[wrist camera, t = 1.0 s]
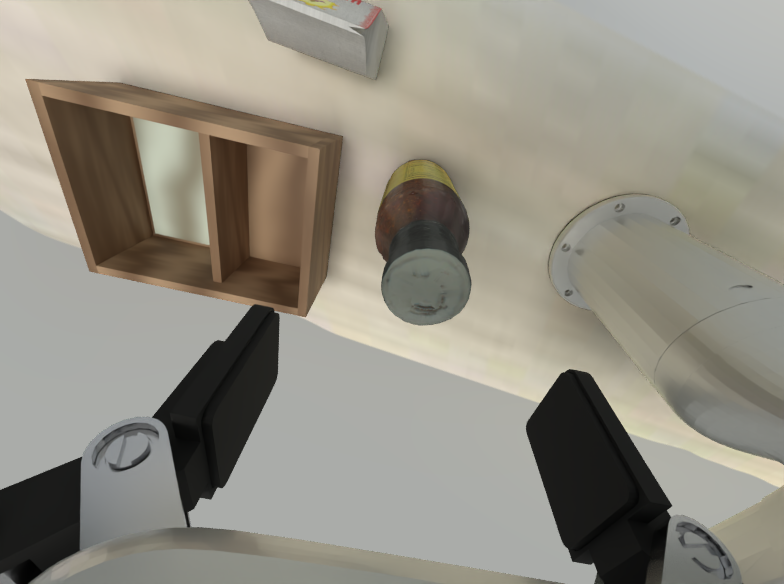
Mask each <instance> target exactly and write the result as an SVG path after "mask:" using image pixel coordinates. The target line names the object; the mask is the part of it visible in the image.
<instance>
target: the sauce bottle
mask: <svg viewBox="0 0 784 584" xmlns="http://www.w3.org/2000/svg"><path fill="white" fill-rule="evenodd" d="M375 238H376V245H377V249H378V251H379V253H380V254H382V256H383V259H384V260H385V261H386V262H387V263H386V265H385V267H384V272H383V275H382V282H381V290H382V295H383V298H384V301H385V303H386V304H387V306H388V308H389V310H390V311H391V312H392V313H393V314H394V315H395V316H397V317H399V318H400V319H402V320H403V321H405V322H408V323H411V324H415V325H433V324H438V323H441V322H444V321H446V320H449V319H451V318H452V317H454V316H455V315H457V314H458V313H460V311H461V310H462V309H463V308H464V307H465V305H466V303H467V301H468V299H469V295H470V291H471V278H470V274H469V269H468V266H467V263H466V260H465V259H464V257H463V256H462V255H461V254H462V253H463V251H464V249H465V247H466V245H467V242H468V238H469V219H468V215H467V211H466V209H465V207H464V205H463V203H462V201H461V199H460V197H459V196H458V194H457V192H456V190H455V188H454V186H453V184H452V182H451V180H450V178H449V176H448V175H447V173H446V172H445V171H444V170H443V169H442V168H441V167H440V166H438V165H437V164H435V163H433V162H431V161H428V160H412V161H409V162H408V163H406V164H404V165H402V166H400V167H399V168H398V169H397V170H396V171H395V172H394V173H393V174H392V176H391V178H390V180H389V181H388V184H387V186H386V189H385V192H384V195H383V198H382V201H381V204H380V207H379V211H378V215H377V222H376V227H375Z"/></svg>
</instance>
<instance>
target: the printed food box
mask: <svg viewBox="0 0 784 584" xmlns="http://www.w3.org/2000/svg"><path fill="white" fill-rule="evenodd" d="M249 2H250V4H251V6H252V8H253V9H254V11H255V13H256V16H257V18H258V20H259V22H260V24H261V26H262V28H263V30H264V33H265V35H266V37H267V39H268V40H269V41H272V42H274V43H277V44H280V45H282V46H285V47H288V48H291V49H293V50H296V51H299V52H301V53H304V54H307V55H309V56H312V57H315V58H317V59H320V60H323V61H325V62H328V63H331V64H333V65H336V66H339V67H342V68H344V69H347V70H350V71H352V72H355V73H358V74H360V75H363V76H366V77H369V78H371V79H374V80H376V78H377V74H378V70H379V66H380V61H381V57H382V53H383V49H384V45H385V41H386V36H387V32H388V28H389V25H388V22H387V20H386V18H385V15H384V13H383V11H382V9H381V8H379V7H376V6H374V5H371V4H369V3H366V2H364V1H361V0H249Z"/></svg>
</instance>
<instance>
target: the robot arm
mask: <svg viewBox="0 0 784 584" xmlns="http://www.w3.org/2000/svg"><path fill="white" fill-rule="evenodd" d="M616 205H617V206H616ZM615 206H616V207H615ZM564 244H565V245H564ZM563 245H564V246H563ZM549 276H550V279H551V281H552V284H553V286H554V287H555V289H556V290H557V292H558V293H559V294H560V296H561V297H562V298H563V299H565V300H566V301H567V302H569V303H570V304H572V305H574V306H577V307H579V308H583V309H587V310H592V311H593V312H594V313H595V314H596V316H597V317H598V318H599V319H600V321H601V322H602V323H603V324H604V326H605V327H606V328H607V329H608V331H609V332H610V333H611V335H612V336H613V337H614V338H615V340H616V341H617V342H618V343H619V345H620V346H621V347H622V348H623V350H624V351H625V352H626V353H627V355H628V356H629V357H630V358H631V360H632V361H633V362H634V363H635V365H636V366H637V367H638V368H639V370H640V371H641V372H642V373H643V375H644V376H645V377H646V378H647V380H648V381H649V382H650V383H651V385H652V386H653V387H654V388H655V389H656V390H657V392H658V393H659V394H660V395H661V397H662V398H663V399H664V400H665V402H666V403H667V404H668V405H669V407H670V408H671V409H672V410H673V411H674V412H675V413H676V414H677V415H678V416H679V417H680V419H682V420H683V421H684V422H685V423H686V424H687V425H689V426H690V427H691V428H693V429H694V430H696V431H697V432H699V433H700V434H702V435H703V436H705V437H707V438H709V439H711V440H713V441H715V442H717V443H720V444H722V445H725V446H727V447H730V448H733V449H736V450H739V451H742V452H745V453H749V454H752V455H756V456H759V457H763V458H767V459H770V460H774V461H778V462H780V463H782V464H783V465H784V284H782V283H780V282H778V281H776V280H774V279H772V278H770V277H768V276H767V275H765V274H763V273H761V272H759V271H757V270H755V269H753V268H751V267H749V266H747V265H745V264H743V263H742V262H740V261H738V260H736V259H734V258H732V257H730V256H728V255H726V254H724V253H722V252H720V251H719V250H717V249H715V248H713V247H711V246H709V245H707V244H705V243H703V242H701V241H699V240H697V239H696V238H694V237H692V236H690V233H689V226H688V223H687V221H686V218H685V216H684V215H683V214H682V213H681V212H680V210H679V209H678V208H676V207H675V206H674V205H672V204H671V203H669V202H667V201H665V200H662V199H660V198H658V197H654V196H650V195H644V194H629V195H622V196H617V197H614V198H610V199H607V200H604V201H602V202H600V203H598V204H596V205H594V206H591V207H590V208H588V209H587V210H585V211H584V212H582V213H581V214H579V215H578V216H577V217H576V218H575V219H574V220H572V221H571V222H570V223H569V224H568V225H567V226H566V228H565V229H564V230H563V231H562V233H561V234H560V235H559V237H558V239H557V240H556V242H555V244H554V246H553V249H552V252H551V254H550V259H549ZM278 347H279V314H278V313H274V308H272V307H268V306H263V305H258V304H254V305H253V306H252V307H251V308H250V310H249V311H248V312H247V313H246V315H245V316H244V317H243V318H242V320H241V321H240V322H239V324H238V325H237V326H236V328H235V329H234V330H233V331H232V333H231V334H230V336H229V337H228V338H227V339H226V341H219V340H217V341H215V342H214V343H213V344H212V345H211V346H210V347H209V348H208V349H207V351H206V352H205V353H204V354H203V355H202V357H201V358H200V359H199V360H198V362H197V363H196V364H195V365H194V366H193V368H192V369H191V370H190V372H189V373H188V374H187V375H186V376H185V378H184V379H183V380H182V381H181V382H180V384H179V385H178V386H177V387H176V389H175V390H174V391H173V392H172V394H171V395H170V396H169V397H168V398H167V400H166V401H165V402H164V403H163V405H162V406H161V407H160V408H159V409H158V411H157V412H156V413H155V414H154V416H153V417H152V418H150V417H135V418H130V419H126V420H123V421H121V422H118V423H116V424H113V425H111V426H110V427H108V428H107V429H105V430H104V431H102V432H101V433H99V434H98V435H97V436H96V437H95V438H94V439H93V440H92V441H91V442H90V443H89V445H88V446H87V448H86V450H85V451H84V453H83V457H80V458H78V459H75V460H73V461H70V462H68V463H65V464H63V465H60V466H58V467H56V468H53V469H51V470H48V471H46V472H43V473H41V474H38V475H36V476H33V477H31V478H29V479H26V480H24V481H21V482H19V483H16V484H14V485H11V486H9V487H6V488H4V489H2V490H0V584H563V583H558V582H552V581H546V580H540V579H534V578H529V577H522V576H517V575H511V574H505V573H499V572H494V571H487V570H481V569H476V568H470V567H464V566H458V565H452V564H446V563H440V562H434V561H428V560H421V559H416V558H410V557H404V556H398V555H392V554H386V553H380V552H373V551H366V550H360V549H354V548H349V547H342V546H336V545H330V544H324V543H318V542H311V541H305V540H299V539H292V538H285V537H278V536H271V535H264V534H257V533H250V532H243V531H236V530H224V529H213V528H202V527H201V528H199V527H197V528H194V527H191V523H190V518H189V513H188V512H189V511H191V510H193V509H194V508H195V506H196V504H197V502H198V500H199V498H205V499H212V497H213V495H214V492H215V491H216V489H217V487H219V488H223V487H224V486H225V484H226V483H227V481H228V479H229V477H230V474H231V473H232V471H233V469H234V467H235V465H236V462H237V460H238V458H239V456H240V454H241V452H242V450H243V448H244V446H245V444H246V442H247V440H248V438H249V436H250V434H251V432H252V430H253V427H254V425H255V423H256V421H257V419H258V417H259V415H260V413H261V411H262V409H263V407H264V405H265V403H266V401H267V399H268V397H269V395H270V392H271V390H272V388H273V386H274V384H275V382H276V379H277V374H278V350H279V348H278ZM526 432H527V435H528V438H529V442H530V444H531V448H532V451H533V454H534V457H535V460H536V463H537V466H538V469H539V472H540V475H541V478H542V481H543V485H544V488H545V491H546V493H547V497H548V500H549V503H550V506H551V509H552V512H553V515H554V518H555V521H556V524H557V528H558V531H559V534H560V537H561V540H562V542H563V544H564V545H565V546H566V547H567V548H568V550H569V553H570V555H571V559H572V561H573V562H578V563H584V564H592V563H594V564H595V567H596V569H597V575H596V579H595V583H594V584H784V485H783V486H782V487H781V488H779V489H777V490H776V491H774V492H772V493H771V494H769V495H767V496H766V497H765V498H763V499H762V501H761V502H759V503H757V504H755V505H753V506H752V507H750V508H748V509H746V510H744V511H742V512H740V513H738V514H736V515H734V516H732V517H731V518H728V519H727V520H725V521H723V522H721V523H719V524H717V525H715V526H713V527H711V528H709V529H707V528H706V527H705V526H704V525H702V524H700V523H699V522H697V521H696V520H694V519H691V518H689V517H687V516H684V515H675V516H673V517H670V515H669V513H668V512H667V510H668V509H669V508H670V507H671V506H672V505H671V503H670V501H669V500H668V498H667V497H666V495H665V493H664V492H663V490H662V489H661V487H660V486H659V484H658V482H657V481H656V479H655V477H654V476H653V474H652V472H651V471H650V469H649V468H648V466H647V465H646V463H645V461H644V460H643V458H642V456H641V455H640V453H639V452H638V450H637V448H636V447H635V445H634V443H633V442H632V440H631V439H630V437H629V435H628V434H627V432H626V431H625V429H624V427H623V426H622V424H621V422H620V421H619V419H618V418H617V416H616V414H615V413H614V411H613V410H612V408H611V406H610V405H609V403H608V402H607V400H606V398H605V397H604V395H603V393H602V392H601V390H600V389H599V387H598V385H597V384H596V382H595V381H594V379H593V377H592V376H591V375H590V374H589V373H587V372H582V371H577V370H572V369H569V370H567V371H566V372H565V373H564V372H563V373H561V374H560V376H559V377H558V378H557V380H556V381H555V383H554V384H553V386H552V387H551V388H550V390H549V391H548V393H547V394H546V396H545V397H544V399H543V400H542V401H541V403H540V404H539V406H538V407H537V409H536V410H535V412H534V413H533V414H532V416H531V417H530V419H529V420H528V422H527V425H526Z"/></svg>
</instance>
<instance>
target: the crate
mask: <svg viewBox="0 0 784 584" xmlns="http://www.w3.org/2000/svg"><path fill="white" fill-rule="evenodd" d="M25 80H26V83H27V86H28V89H29V92H30V95H31V98H32V100H33V103H34V106H35V109H36V112H37V115H38V118H39V121H40V124H41V127H42V130H43V133H44V136H45V139H46V142H47V145H48V148H49V151H50V154H51V157H52V160H53V163H54V166H55V169H56V172H57V175H58V178H59V181H60V184H61V187H62V190H63V193H64V196H65V199H66V202H67V205H68V208H69V211H70V214H71V217H72V220H73V223H74V226H75V229H76V232H77V235H78V238H79V241H80V244H81V247H82V250H83V253H84V256H85V259H86V262H87V265H88V268H89V271H91V272H95V273H99V274H104V275H109V276H114V277H118V278H123V279H128V280H132V281H137V282H142V283H147V284H151V285H156V286H161V287H166V288H170V289H175V290H180V291H185V292H189V293H194V294H199V295H204V296H209V297H213V298H217V299H222V300H227V301H232V302H236V303H241V304H246V305H250V306H253V305H254V304H258V305H263V306H268V307H272V308H274V311H279V312H283V313H289V314H293V315H298V316H302V317H306V316H307V314H308V312H309V310H310V308H311V306H312V304H313V302H314V300H315V298H316V296H317V294H318V292H319V290H320V288H321V286H322V284H323V282H324V280H325V278H326V276H327V268H328V259H329V251H330V242H331V234H332V225H333V217H334V208H335V200H336V191H337V183H338V174H339V166H340V157H341V148H342V140H343V136H339V135H335V134H331V133H327V132H323V131H318V130H314V129H310V128H306V127H302V126H298V125H294V124H289V123H285V122H281V121H277V120H273V119H269V118H264V117H260V116H256V115H252V114H248V113H244V112H240V111H235V110H231V109H227V108H223V107H219V106H215V105H210V104H206V103H202V102H198V101H194V100H190V99H186V98H181V97H177V96H173V95H169V94H165V93H161V92H156V91H152V90H148V89H144V88H140V87H136V86H132V85H127V84H123V83H116V82H90V81H65V80H39V79H25Z"/></svg>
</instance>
